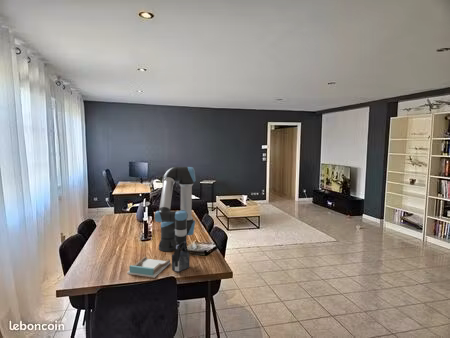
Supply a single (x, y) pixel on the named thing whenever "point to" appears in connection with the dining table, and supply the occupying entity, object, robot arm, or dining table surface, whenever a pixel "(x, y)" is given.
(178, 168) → the robot arm
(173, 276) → the dining table surface
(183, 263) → the small box
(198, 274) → the dining table surface
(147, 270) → the light blue shallow tray
